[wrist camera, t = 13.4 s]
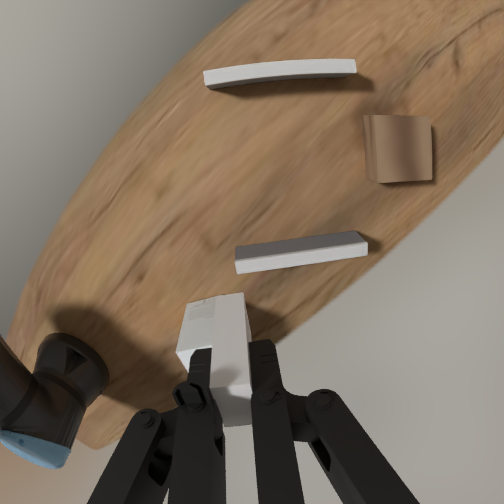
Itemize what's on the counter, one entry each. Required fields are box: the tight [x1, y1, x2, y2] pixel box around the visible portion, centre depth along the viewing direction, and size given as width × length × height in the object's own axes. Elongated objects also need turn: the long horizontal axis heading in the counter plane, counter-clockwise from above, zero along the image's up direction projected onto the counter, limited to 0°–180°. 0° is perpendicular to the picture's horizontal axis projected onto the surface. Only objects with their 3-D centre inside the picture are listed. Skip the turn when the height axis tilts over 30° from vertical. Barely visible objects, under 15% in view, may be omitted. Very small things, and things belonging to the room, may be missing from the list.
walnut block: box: [362, 115, 432, 183], centre depth 33 cm, size 8×8×4 cm
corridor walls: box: [203, 59, 368, 274], centre depth 33 cm, size 16×23×4 cm
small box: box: [176, 295, 222, 373], centre depth 39 cm, size 8×6×10 cm
